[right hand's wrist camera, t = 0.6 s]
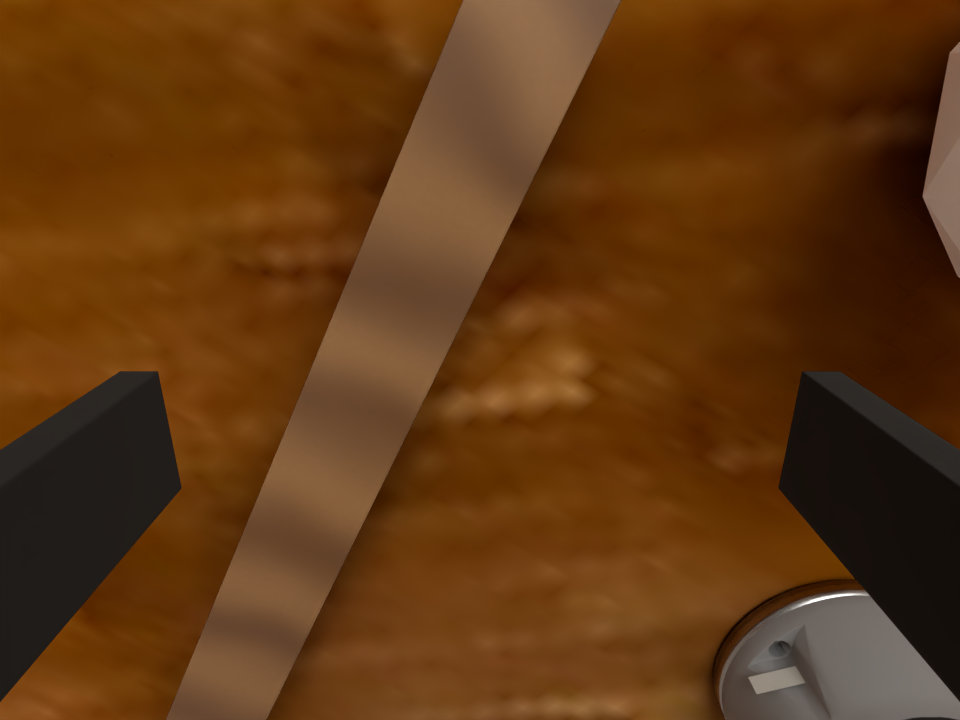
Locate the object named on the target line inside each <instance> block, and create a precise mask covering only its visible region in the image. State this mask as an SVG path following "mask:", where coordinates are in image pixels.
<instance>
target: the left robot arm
mask: <svg viewBox="0 0 960 720" xmlns="http://www.w3.org/2000/svg"><path fill="white" fill-rule="evenodd" d="M713 684H714V691H715V695H716V698H717V700H718V703H719V705H720V708H721V710H722V712H723V714H724V717H725V719H726V720H960V702H959V700H958V699H957V698H956V697H955V696H954V695H953V693H952V692H951V691H950V690H949V689H948V687H947V686H946V685H945V684H944V683H943V682H942V680H941V679H940V678H939V677H938V676H937V674H936V673H935V672H934V671H933V670H932V669H931V667H930V666H929V665H928V664H927V663H926V661H925V660H924V659H923V658H922V657H921V656H920V654H919V653H918V652H917V651H916V650H915V649H914V647H913V646H912V645H911V644H910V643H909V641H908V640H907V639H906V638H905V637H904V636H903V634H902V633H901V632H900V631H899V630H898V628H897V627H896V626H895V625H894V624H893V623H892V621H891V620H890V619H889V618H888V617H887V615H886V614H885V613H884V612H883V611H882V610H881V608H880V607H879V606H878V605H877V604H876V603H875V601H874V600H873V599H872V598H871V597H870V595H869V594H868V593H867V592H866V591H865V590H864V588H863V587H862V586H861V585H860V584H859V582H858V581H857V580H833V581H824V582H819V583H814V584H810V585H806V586H802V587H799V588H796V589H793V590H791V591H788V592H786V593H783V594H781V595H779V596H777V597H775V598H773V599H771V600H769V601H768V602H766V603H764V604H763V605H761V606H760V607H758V608H757V609H756V610H754V611H753V612H751V613H750V614H749V615H748V616H747V617H746V618H744V619H743V620H742V621H741V622H740V623H739V624H738V625H737V626H736V627H735V629H734V630H733V631H732V632H731V633H730V635H729V636H728V638H727V639H726V641H725V642H724V644H723V646H722V648H721V649H720V652H719V654H718V656H717V659H716V663H715V667H714V673H713Z"/></svg>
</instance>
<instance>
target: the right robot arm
mask: <svg viewBox="0 0 960 720" xmlns="http://www.w3.org/2000/svg"><path fill="white" fill-rule="evenodd" d="M180 489H181V483H180V478H179V473H178V468H177V464H176V459H175V454H174V449H173V444H172V439H171V434H170V429H169V424H168V419H167V414H166V409H165V404H164V399H163V394H162V390H161V385H160V380H159V375H158V372H119V373H117V374H116V375H114V376H113V377H111V378H110V379H108V380H107V381H105V382H103V383H102V384H100V385H99V386H97V387H96V388H94V389H93V390H91V391H90V392H88V393H87V394H85V395H84V396H82V397H81V398H79V399H77V400H76V401H74V402H73V403H71V404H70V405H68V406H67V407H65V408H64V409H62V410H61V411H59V412H58V413H56V414H55V415H53V416H52V417H50V418H48V419H47V420H45V421H44V422H42V423H41V424H39V425H38V426H36V427H35V428H33V429H32V430H30V431H29V432H27V433H26V434H24V435H22V436H21V437H19V438H18V439H16V440H15V441H13V442H12V443H10V444H9V445H7V446H6V447H4V448H3V449H1V450H0V702H1V700H2V699H3V698H4V697H5V696H6V695H7V693H8V692H9V691H10V690H11V689H12V687H13V686H14V685H15V684H16V683H17V682H18V680H19V679H20V678H21V677H22V676H23V674H24V673H25V672H26V671H27V670H28V669H29V667H30V666H31V665H32V664H33V663H34V661H35V660H36V659H37V658H38V657H39V656H40V654H41V653H42V652H43V651H44V650H45V649H46V647H47V646H48V645H49V644H50V643H51V641H52V640H53V639H54V638H55V637H56V636H57V634H58V633H59V632H60V631H61V630H62V628H63V627H64V626H65V625H66V624H67V623H68V621H69V620H70V619H71V618H72V617H73V615H74V614H75V613H76V612H77V611H78V610H79V608H80V607H81V606H82V605H83V604H84V603H85V601H86V600H87V599H88V598H89V597H90V595H91V594H92V593H93V592H94V591H95V590H96V588H97V587H98V586H99V585H100V584H101V582H102V581H103V580H104V579H105V578H106V577H107V575H108V574H109V573H110V572H111V571H112V569H113V568H114V567H115V566H116V565H117V564H118V562H119V561H120V560H121V559H122V558H123V557H124V555H125V554H126V553H127V552H128V551H129V549H130V548H131V547H132V546H133V545H134V544H135V542H136V541H137V540H138V539H139V538H140V536H141V535H142V534H143V533H144V532H145V531H146V529H147V528H148V527H149V526H150V525H151V523H152V522H153V521H154V520H155V519H156V518H157V516H158V515H159V514H160V513H161V512H162V511H163V509H164V508H165V507H166V506H167V505H168V503H169V502H170V501H171V500H172V499H173V498H174V496H175V495H176V494H177V493H178V492H179V490H180ZM779 489H780V490H781V492H782V493H783V494H784V495H785V496H786V498H787V499H788V500H789V501H790V502H791V503H792V505H793V506H794V507H795V508H796V509H797V511H798V512H799V513H800V514H801V515H802V516H803V518H804V519H805V520H806V521H807V522H808V523H809V525H810V526H811V527H812V528H813V529H814V531H815V532H816V533H817V534H818V535H819V536H820V538H821V539H822V540H823V541H824V542H825V544H826V545H827V546H828V547H829V548H830V549H831V551H832V552H833V553H834V554H835V555H836V557H837V558H838V559H839V560H840V561H841V562H842V564H843V565H844V566H845V567H846V568H847V569H848V571H849V572H850V573H851V574H852V575H853V577H854V578H855V579H856V580H857V581H858V582H859V584H860V585H861V586H862V587H863V588H864V590H865V591H866V592H867V593H868V594H869V595H870V597H871V598H872V599H873V600H874V601H875V603H876V604H877V605H878V606H879V607H880V608H881V610H882V611H883V612H884V613H885V614H886V615H887V617H888V618H889V619H890V620H891V621H892V623H893V624H894V625H895V626H896V627H897V628H898V630H899V631H900V632H901V633H902V634H903V636H904V637H905V638H906V639H907V640H908V641H909V643H910V644H911V645H912V646H913V647H914V649H915V650H916V651H917V652H918V653H919V654H920V656H921V657H922V658H923V659H924V660H925V661H926V663H927V664H928V665H929V666H930V667H931V669H932V670H933V671H934V672H935V673H936V674H937V676H938V677H939V678H940V679H941V680H942V682H943V683H944V684H945V685H946V686H947V687H948V689H949V690H950V691H951V692H952V693H953V695H954V696H955V697H956V698H957V699H958V700H959V702H960V450H959V449H957V448H956V447H954V446H953V445H951V444H950V443H948V442H947V441H945V440H944V439H942V438H941V437H939V436H938V435H936V434H934V433H933V432H931V431H930V430H928V429H927V428H925V427H924V426H922V425H921V424H919V423H918V422H916V421H915V420H913V419H912V418H910V417H908V416H907V415H905V414H904V413H902V412H901V411H899V410H898V409H896V408H895V407H893V406H892V405H890V404H889V403H887V402H886V401H884V400H883V399H881V398H879V397H878V396H876V395H875V394H873V393H872V392H870V391H869V390H867V389H866V388H864V387H863V386H861V385H860V384H858V383H857V382H855V381H853V380H852V379H850V378H849V377H847V376H846V375H844V374H843V373H841V372H802V375H801V380H800V385H799V390H798V395H797V399H796V404H795V409H794V414H793V419H792V424H791V429H790V434H789V439H788V444H787V449H786V454H785V459H784V464H783V468H782V473H781V478H780V483H779Z"/></svg>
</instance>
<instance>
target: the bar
mask: <svg viewBox="0 0 960 720" xmlns="http://www.w3.org/2000/svg"><path fill="white" fill-rule="evenodd" d="M620 2H621V0H463V1H462V3H461V6H460V8H459V11H458V13H457V16H456V18H455V20H454V23H453V25H452V28H451V30H450V33H449V35H448V37H447V40H446V42H445V45H444V47H443V50H442V52H441V54H440V57H439V59H438V62H437V64H436V66H435V69H434V71H433V74H432V76H431V79H430V81H429V83H428V86H427V88H426V91H425V93H424V96H423V98H422V100H421V103H420V105H419V108H418V110H417V113H416V115H415V117H414V120H413V122H412V125H411V127H410V129H409V132H408V134H407V137H406V139H405V142H404V144H403V146H402V149H401V151H400V154H399V156H398V159H397V161H396V163H395V166H394V168H393V171H392V173H391V176H390V178H389V180H388V183H387V185H386V188H385V190H384V192H383V195H382V197H381V200H380V202H379V205H378V207H377V209H376V212H375V214H374V217H373V219H372V222H371V224H370V226H369V229H368V231H367V234H366V236H365V238H364V241H363V243H362V246H361V248H360V251H359V253H358V255H357V258H356V260H355V263H354V265H353V268H352V270H351V272H350V275H349V277H348V280H347V282H346V285H345V287H344V289H343V292H342V294H341V297H340V299H339V301H338V304H337V306H336V309H335V311H334V314H333V316H332V318H331V321H330V323H329V326H328V328H327V331H326V333H325V335H324V338H323V340H322V343H321V345H320V348H319V350H318V352H317V355H316V357H315V360H314V362H313V364H312V367H311V369H310V372H309V374H308V377H307V379H306V381H305V384H304V386H303V389H302V391H301V394H300V396H299V398H298V401H297V403H296V406H295V408H294V411H293V413H292V415H291V418H290V420H289V423H288V425H287V427H286V430H285V432H284V435H283V437H282V440H281V442H280V444H279V447H278V449H277V452H276V454H275V457H274V459H273V461H272V464H271V466H270V469H269V471H268V474H267V476H266V478H265V481H264V483H263V486H262V488H261V490H260V493H259V495H258V498H257V500H256V503H255V505H254V507H253V510H252V512H251V515H250V517H249V520H248V522H247V524H246V527H245V529H244V532H243V534H242V537H241V539H240V541H239V544H238V546H237V549H236V551H235V553H234V556H233V558H232V561H231V563H230V566H229V568H228V570H227V573H226V575H225V578H224V580H223V583H222V585H221V587H220V590H219V592H218V595H217V597H216V599H215V602H214V604H213V607H212V609H211V612H210V614H209V616H208V619H207V621H206V624H205V626H204V629H203V631H202V633H201V636H200V638H199V641H198V643H197V646H196V648H195V650H194V653H193V655H192V658H191V660H190V662H189V665H188V667H187V670H186V672H185V675H184V677H183V679H182V682H181V684H180V687H179V689H178V692H177V694H176V696H175V699H174V701H173V704H172V706H171V709H170V711H169V713H168V716H167V718H166V720H266V719H267V717H268V715H269V713H270V711H271V709H272V707H273V705H274V703H275V701H276V699H277V697H278V695H279V693H280V691H281V689H282V687H283V685H284V683H285V681H286V679H287V677H288V675H289V673H290V671H291V669H292V667H293V665H294V663H295V661H296V659H297V657H298V655H299V653H300V650H301V648H302V646H303V644H304V642H305V640H306V638H307V636H308V634H309V632H310V630H311V628H312V626H313V624H314V622H315V620H316V618H317V616H318V614H319V612H320V610H321V608H322V606H323V604H324V602H325V600H326V598H327V596H328V594H329V592H330V590H331V588H332V586H333V584H334V582H335V580H336V578H337V576H338V573H339V571H340V569H341V567H342V565H343V563H344V561H345V559H346V557H347V555H348V553H349V551H350V549H351V547H352V545H353V543H354V541H355V539H356V537H357V535H358V533H359V531H360V529H361V527H362V525H363V523H364V521H365V519H366V517H367V515H368V513H369V511H370V509H371V507H372V505H373V503H374V501H375V499H376V496H377V494H378V492H379V490H380V488H381V486H382V484H383V482H384V480H385V478H386V476H387V474H388V472H389V470H390V468H391V466H392V464H393V462H394V460H395V458H396V456H397V454H398V452H399V450H400V448H401V446H402V444H403V442H404V440H405V438H406V436H407V434H408V432H409V430H410V428H411V426H412V424H413V422H414V419H415V417H416V415H417V413H418V411H419V409H420V407H421V405H422V403H423V401H424V399H425V397H426V395H427V393H428V391H429V389H430V387H431V385H432V383H433V381H434V379H435V377H436V375H437V373H438V371H439V369H440V367H441V365H442V363H443V361H444V359H445V357H446V355H447V353H448V351H449V349H450V347H451V345H452V342H453V340H454V338H455V336H456V334H457V332H458V330H459V328H460V326H461V324H462V322H463V320H464V318H465V316H466V314H467V312H468V310H469V308H470V306H471V304H472V302H473V300H474V298H475V296H476V294H477V292H478V290H479V288H480V286H481V284H482V282H483V280H484V278H485V276H486V274H487V272H488V270H489V268H490V265H491V263H492V261H493V259H494V257H495V255H496V253H497V251H498V249H499V247H500V245H501V243H502V241H503V239H504V237H505V235H506V233H507V231H508V229H509V227H510V225H511V223H512V221H513V219H514V217H515V215H516V213H517V211H518V209H519V207H520V205H521V203H522V201H523V199H524V197H525V195H526V193H527V191H528V188H529V186H530V184H531V182H532V180H533V178H534V176H535V174H536V172H537V170H538V168H539V166H540V164H541V162H542V160H543V158H544V156H545V154H546V152H547V150H548V148H549V146H550V144H551V142H552V140H553V138H554V136H555V134H556V132H557V130H558V128H559V126H560V124H561V122H562V120H563V118H564V116H565V114H566V111H567V109H568V107H569V105H570V103H571V101H572V99H573V97H574V95H575V93H576V91H577V89H578V87H579V85H580V83H581V81H582V79H583V77H584V75H585V73H586V71H587V69H588V67H589V65H590V63H591V61H592V59H593V57H594V55H595V53H596V51H597V49H598V47H599V45H600V43H601V41H602V39H603V37H604V34H605V32H606V30H607V28H608V26H609V24H610V22H611V20H612V18H613V16H614V14H615V12H616V10H617V8H618V6H619V4H620Z"/></svg>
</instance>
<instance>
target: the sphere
mask: <svg viewBox="0 0 960 720" xmlns="http://www.w3.org/2000/svg"><path fill="white" fill-rule="evenodd" d="M922 197H923V199H924V201H925V204H926V206H927V208H928V210H929V213H930V215H931V217H932V219H933V222H934V224H935V226H936V229H937V231H938V233H939V235H940V238H941V240H942V242H943V244H944V247H945V249H946V251H947V254H948V256H949V258H950V260H951V263H952V265H953V267H954V270H955V272H956V274H957V276H958V277H959V278H960V42H959V43H958V44H957V45H956V46H955V48H954V49H953V50H952V51H951V52H950V54H949V59H948V64H947V69H946V74H945V80H944V85H943V90H942V95H941V101H940V106H939V111H938V116H937V121H936V127H935V132H934V137H933V142H932V147H931V153H930V158H929V163H928V168H927V174H926V180H925V185H924V191H923V196H922Z"/></svg>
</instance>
